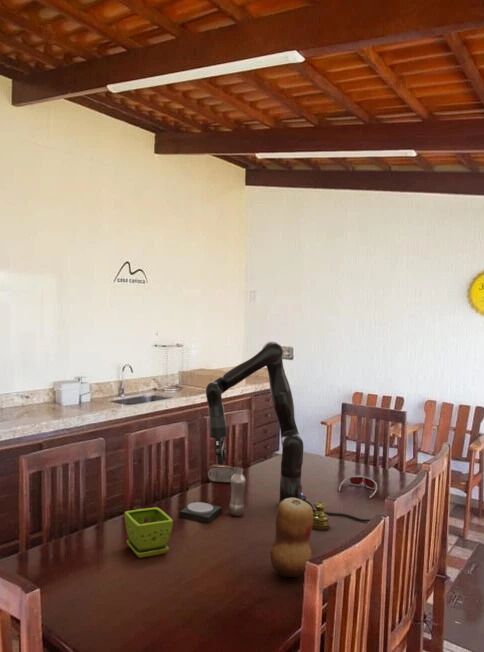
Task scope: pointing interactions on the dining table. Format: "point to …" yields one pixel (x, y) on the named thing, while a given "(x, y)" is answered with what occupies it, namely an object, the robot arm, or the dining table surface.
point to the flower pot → (148, 531)
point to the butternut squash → (292, 537)
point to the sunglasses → (359, 479)
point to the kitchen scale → (201, 512)
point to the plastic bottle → (237, 492)
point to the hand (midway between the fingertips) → (222, 462)
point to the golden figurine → (320, 517)
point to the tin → (220, 473)
